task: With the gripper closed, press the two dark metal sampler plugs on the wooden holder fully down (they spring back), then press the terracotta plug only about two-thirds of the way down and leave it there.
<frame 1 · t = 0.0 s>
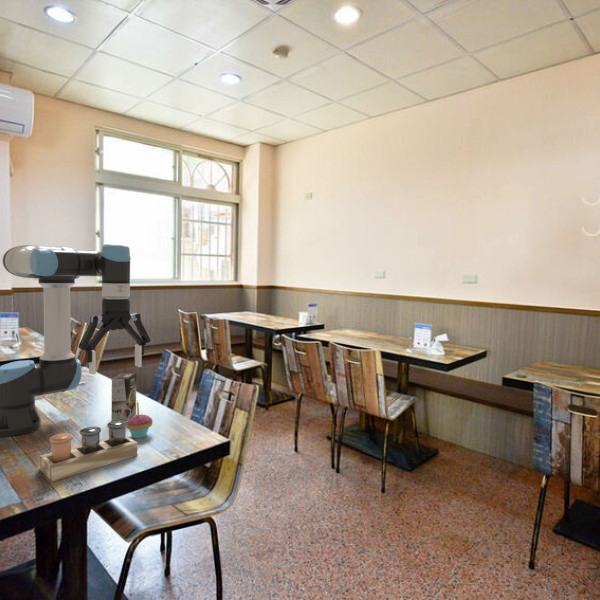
hand: (116, 369, 126), 28 cm above the table, fingers open, 13 cm apart
cupcake: (139, 436, 148), on the table
wooden holder: (90, 461, 127), on the table
plug terracotta: (61, 448, 121), point 7 cm above the table, slide at 0.0 cm
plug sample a: (117, 433, 133), point 6 cm above the table, slide at 0.0 cm
coffee box: (124, 416, 167), on the table
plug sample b: (90, 440, 127), point 6 cm above the table, slide at 0.0 cm
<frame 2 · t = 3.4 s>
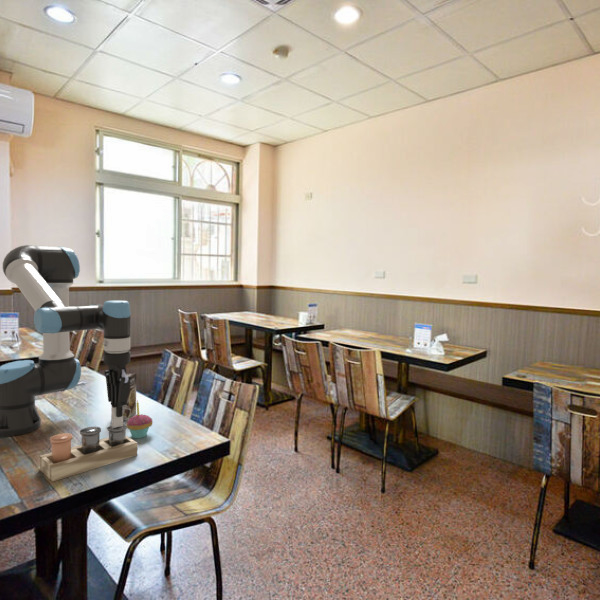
hand: (117, 426, 133), 9 cm above the table, fingers closed
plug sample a: (117, 437, 133), point 5 cm above the table, slide at 1.1 cm, touching gripper
everything else where it was.
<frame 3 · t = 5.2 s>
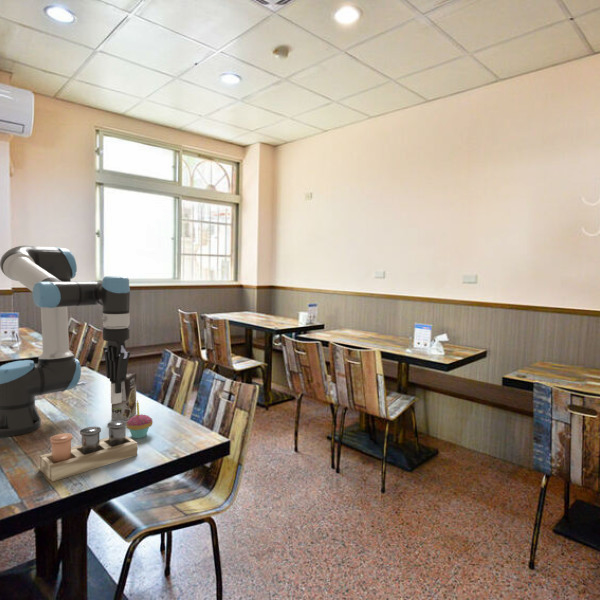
hand: (116, 402, 132), 16 cm above the table, fingers closed
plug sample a: (117, 433, 133), point 6 cm above the table, slide at 0.1 cm
everything else where it was.
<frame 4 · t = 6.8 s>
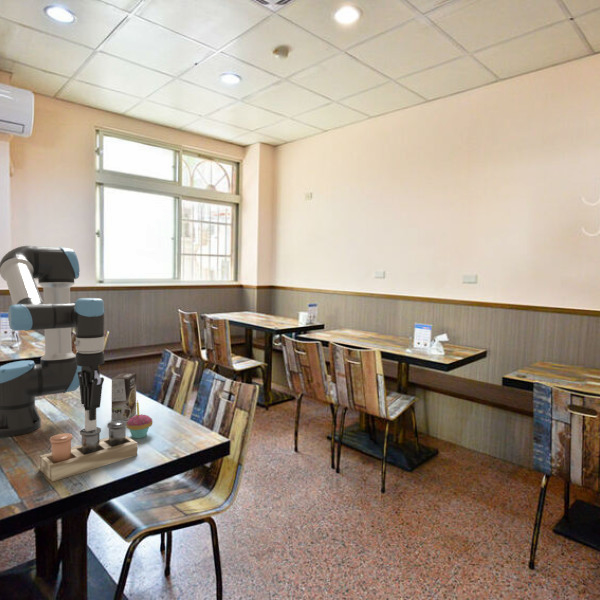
hand: (90, 429, 127), 10 cm above the table, fingers closed
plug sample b: (90, 441, 127), point 6 cm above the table, slide at 0.2 cm, touching gripper
everything else where it was.
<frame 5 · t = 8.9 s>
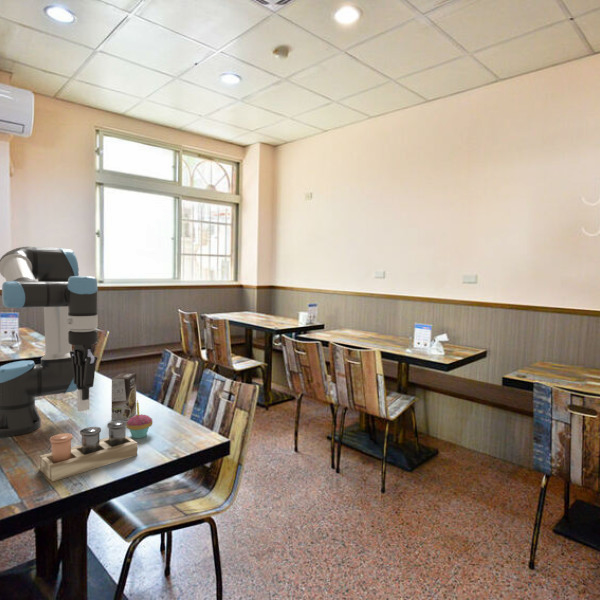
hand: (83, 409, 125), 16 cm above the table, fingers closed
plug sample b: (90, 441, 127), point 6 cm above the table, slide at 0.1 cm
everything else where it was.
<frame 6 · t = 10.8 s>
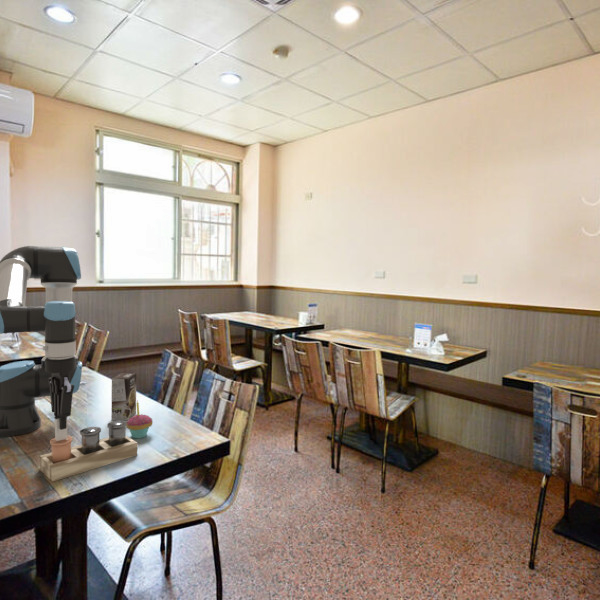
hand: (61, 439, 121), 9 cm above the table, fingers closed
plug terracotta: (61, 451, 121), point 6 cm above the table, slide at 0.8 cm, touching gripper
everything else where it was.
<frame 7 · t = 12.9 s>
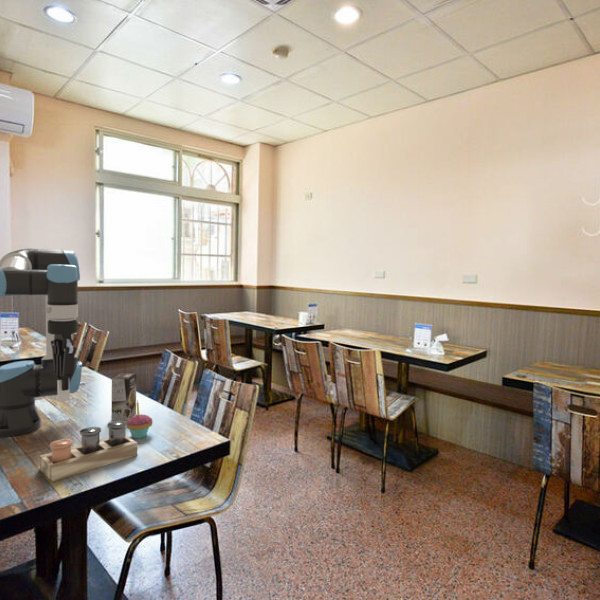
hand: (63, 400, 123), 20 cm above the table, fingers closed
plug terracotta: (61, 454, 121), point 5 cm above the table, slide at 1.7 cm
everything else where it was.
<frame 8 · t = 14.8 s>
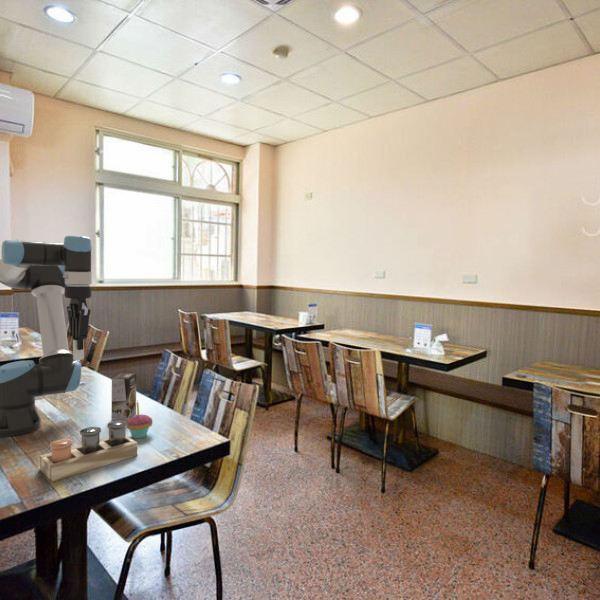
hand: (78, 359, 136), 28 cm above the table, fingers closed
nothing on the table moved.
at the end: plug terracotta slide at 1.7 cm; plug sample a slide at 0.1 cm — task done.
